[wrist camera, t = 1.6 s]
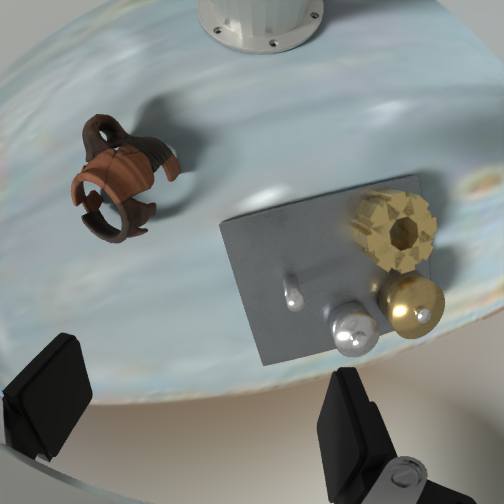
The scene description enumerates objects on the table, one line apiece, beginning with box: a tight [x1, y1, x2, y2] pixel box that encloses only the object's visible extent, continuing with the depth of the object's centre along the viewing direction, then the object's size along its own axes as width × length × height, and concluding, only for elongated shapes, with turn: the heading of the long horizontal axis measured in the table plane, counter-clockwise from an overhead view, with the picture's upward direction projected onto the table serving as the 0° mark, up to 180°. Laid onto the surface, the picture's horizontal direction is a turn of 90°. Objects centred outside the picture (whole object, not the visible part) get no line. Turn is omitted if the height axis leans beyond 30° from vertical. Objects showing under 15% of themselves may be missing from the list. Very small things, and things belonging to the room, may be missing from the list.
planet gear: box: [353, 188, 437, 274], centre depth 25 cm, size 7×7×4 cm
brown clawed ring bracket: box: [71, 114, 180, 243], centre depth 26 cm, size 12×10×8 cm
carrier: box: [219, 175, 445, 366], centre depth 27 cm, size 20×16×6 cm
